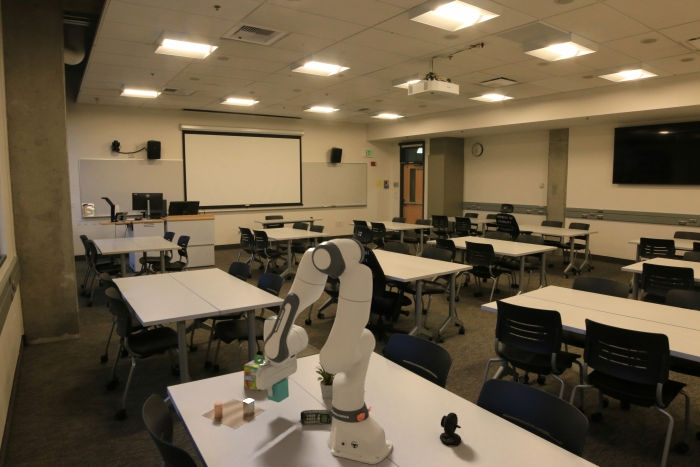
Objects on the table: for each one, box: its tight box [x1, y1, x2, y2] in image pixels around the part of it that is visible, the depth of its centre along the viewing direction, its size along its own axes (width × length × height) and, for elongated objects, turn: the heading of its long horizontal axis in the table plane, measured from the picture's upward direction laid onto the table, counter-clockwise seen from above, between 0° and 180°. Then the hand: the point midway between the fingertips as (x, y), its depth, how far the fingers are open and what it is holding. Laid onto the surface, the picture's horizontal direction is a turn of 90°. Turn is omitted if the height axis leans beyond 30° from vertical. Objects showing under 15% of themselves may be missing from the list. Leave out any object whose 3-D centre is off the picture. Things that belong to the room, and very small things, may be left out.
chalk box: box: [243, 354, 265, 392], centre depth 197 cm, size 9×9×15 cm
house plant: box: [314, 361, 336, 400], centre depth 188 cm, size 14×14×16 cm
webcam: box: [439, 412, 462, 447], centre depth 157 cm, size 8×8×10 cm
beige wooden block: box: [242, 397, 255, 415], centre depth 173 cm, size 3×3×5 cm
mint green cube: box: [266, 379, 290, 403], centre depth 173 cm, size 6×6×7 cm
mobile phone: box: [300, 409, 332, 425], centre depth 170 cm, size 5×3×15 cm
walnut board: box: [201, 398, 266, 430], centre depth 174 cm, size 18×16×2 cm
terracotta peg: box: [213, 401, 223, 418], centre depth 171 cm, size 3×3×5 cm
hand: (277, 391), depth 173 cm, fingers closed on mint green cube, 6 cm apart
